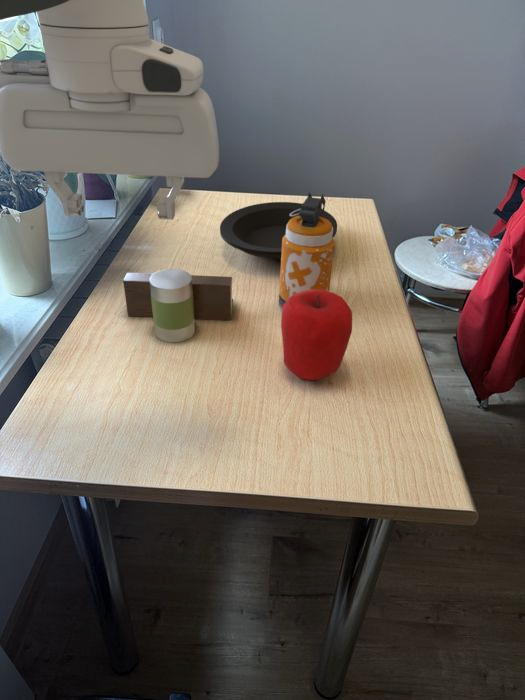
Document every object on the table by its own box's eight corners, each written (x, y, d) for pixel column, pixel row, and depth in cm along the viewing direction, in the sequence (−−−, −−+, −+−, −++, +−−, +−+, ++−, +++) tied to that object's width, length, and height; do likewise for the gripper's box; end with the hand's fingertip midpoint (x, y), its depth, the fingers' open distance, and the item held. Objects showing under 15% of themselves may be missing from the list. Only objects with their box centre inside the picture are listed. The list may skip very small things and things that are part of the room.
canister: (272, 312, 95) (278, 204, 83) (288, 284, 103) (295, 182, 92) (321, 321, 93) (334, 211, 81) (333, 292, 101) (346, 189, 90)
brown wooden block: (127, 316, 92) (122, 280, 88) (134, 300, 97) (130, 265, 93) (230, 320, 92) (230, 285, 88) (233, 304, 97) (233, 269, 93)
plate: (295, 289, 102) (297, 263, 98) (195, 257, 112) (194, 232, 108) (353, 240, 121) (357, 216, 118) (264, 216, 131) (265, 194, 128)
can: (162, 346, 85) (157, 292, 79) (149, 326, 90) (143, 273, 84) (201, 336, 88) (198, 283, 82) (186, 317, 93) (182, 265, 87)
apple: (330, 401, 76) (341, 321, 68) (266, 379, 79) (269, 301, 71) (353, 362, 84) (366, 286, 76) (294, 344, 87) (300, 269, 79)
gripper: (-37, 63, 43) (6, 223, 52) (212, 73, 43) (216, 232, 51) (-3, 53, 49) (31, 200, 57) (219, 61, 48) (222, 208, 57)
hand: (120, 215), depth 54 cm, fingers open, 8 cm apart
